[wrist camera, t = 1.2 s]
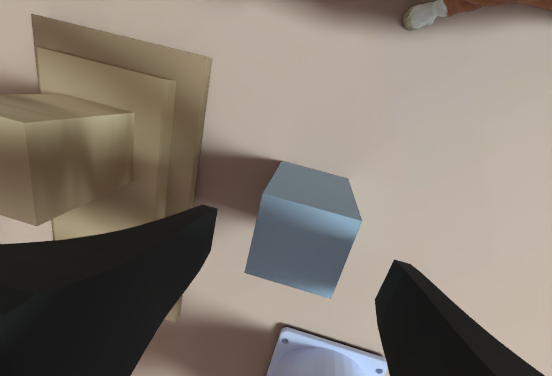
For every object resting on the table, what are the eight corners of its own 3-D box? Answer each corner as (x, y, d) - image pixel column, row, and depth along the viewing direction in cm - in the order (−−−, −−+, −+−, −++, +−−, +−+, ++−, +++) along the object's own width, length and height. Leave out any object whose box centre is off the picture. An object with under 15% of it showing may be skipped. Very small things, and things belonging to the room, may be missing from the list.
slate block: (327, 236, 17) (330, 298, 12) (267, 218, 17) (244, 272, 12) (348, 178, 15) (361, 220, 10) (281, 160, 15) (262, 193, 10)
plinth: (179, 315, 21) (165, 336, 19) (67, 278, 22) (42, 296, 20) (212, 58, 14) (195, 53, 12) (45, 17, 15) (6, 6, 13)
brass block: (132, 182, 15) (37, 226, 10) (70, 164, 15) (-54, 198, 10) (134, 112, 14) (23, 122, 9) (65, 94, 14) (-81, 93, 9)
